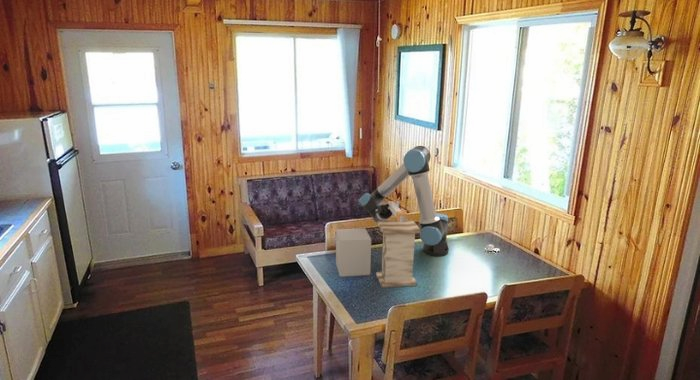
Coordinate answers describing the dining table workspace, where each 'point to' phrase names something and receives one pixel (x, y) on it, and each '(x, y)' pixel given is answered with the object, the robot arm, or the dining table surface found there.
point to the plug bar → (398, 213)
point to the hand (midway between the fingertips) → (394, 203)
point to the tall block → (353, 252)
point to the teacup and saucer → (492, 248)
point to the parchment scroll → (397, 253)
